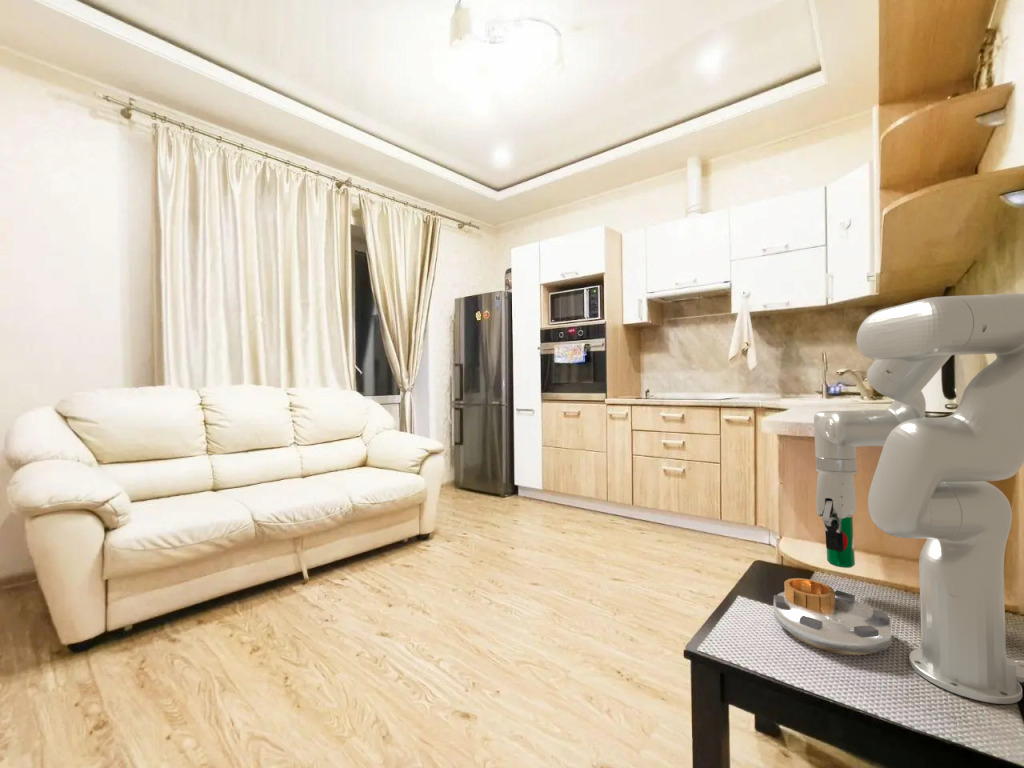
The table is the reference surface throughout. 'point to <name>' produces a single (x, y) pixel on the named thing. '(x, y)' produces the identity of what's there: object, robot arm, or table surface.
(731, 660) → the table surface
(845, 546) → the soda can
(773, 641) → the table surface
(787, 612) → the oval platform with pads
